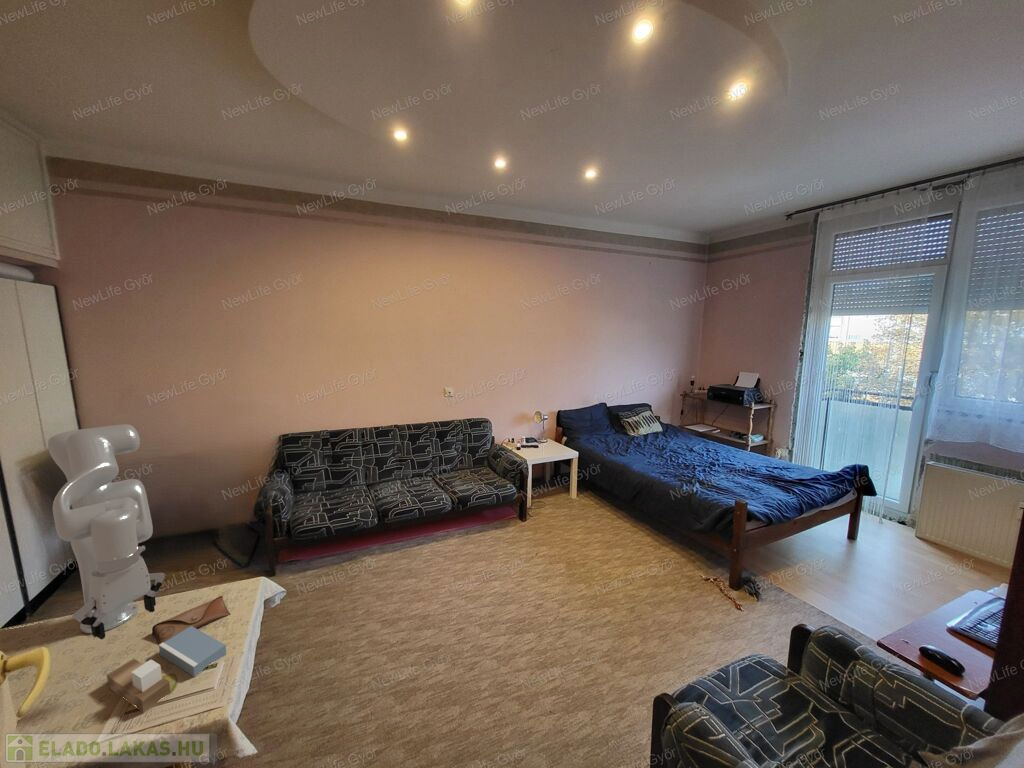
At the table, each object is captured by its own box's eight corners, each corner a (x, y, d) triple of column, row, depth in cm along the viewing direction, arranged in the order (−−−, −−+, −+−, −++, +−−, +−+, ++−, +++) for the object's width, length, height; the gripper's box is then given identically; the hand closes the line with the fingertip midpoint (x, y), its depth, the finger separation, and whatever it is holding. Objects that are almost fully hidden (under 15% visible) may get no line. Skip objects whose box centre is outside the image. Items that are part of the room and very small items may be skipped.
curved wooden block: (108, 688, 101) (106, 674, 101) (135, 671, 106) (133, 658, 106) (143, 714, 95) (142, 700, 94) (170, 695, 100) (169, 681, 99)
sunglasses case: (159, 649, 113) (154, 625, 114) (155, 649, 117) (150, 626, 118) (233, 613, 127) (227, 592, 128) (226, 614, 131) (221, 594, 132)
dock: (160, 654, 111) (158, 644, 110) (192, 634, 118) (191, 625, 118) (194, 677, 105) (193, 666, 104) (226, 654, 112) (225, 644, 112)
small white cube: (133, 685, 98) (131, 672, 97) (152, 672, 102) (151, 659, 101) (142, 692, 96) (140, 678, 96) (162, 678, 100) (160, 665, 99)
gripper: (152, 539, 105) (159, 596, 108) (59, 576, 90) (70, 642, 92) (169, 546, 102) (175, 605, 105) (75, 586, 87) (86, 654, 90)
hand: (126, 622), depth 99 cm, fingers open, 9 cm apart
